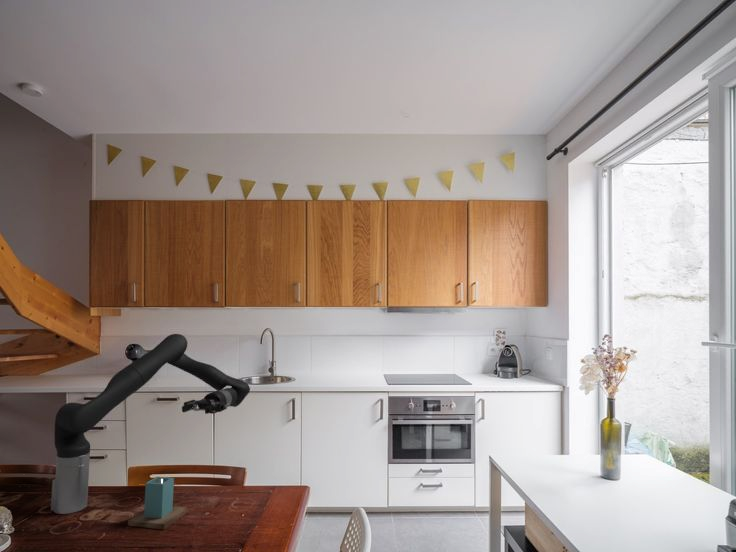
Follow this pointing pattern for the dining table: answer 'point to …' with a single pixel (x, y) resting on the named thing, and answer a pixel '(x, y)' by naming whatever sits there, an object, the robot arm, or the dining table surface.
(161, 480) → the steel post
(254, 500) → the dining table surface
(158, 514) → the teal sleeve
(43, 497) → the dining table surface
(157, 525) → the walnut base plate
